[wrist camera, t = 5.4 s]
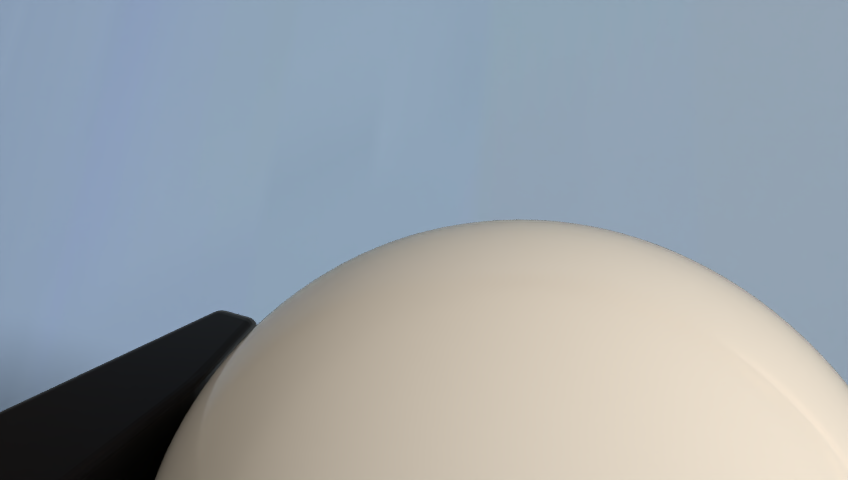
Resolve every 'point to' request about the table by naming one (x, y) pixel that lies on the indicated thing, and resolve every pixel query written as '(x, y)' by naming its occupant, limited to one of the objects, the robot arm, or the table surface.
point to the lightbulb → (518, 371)
